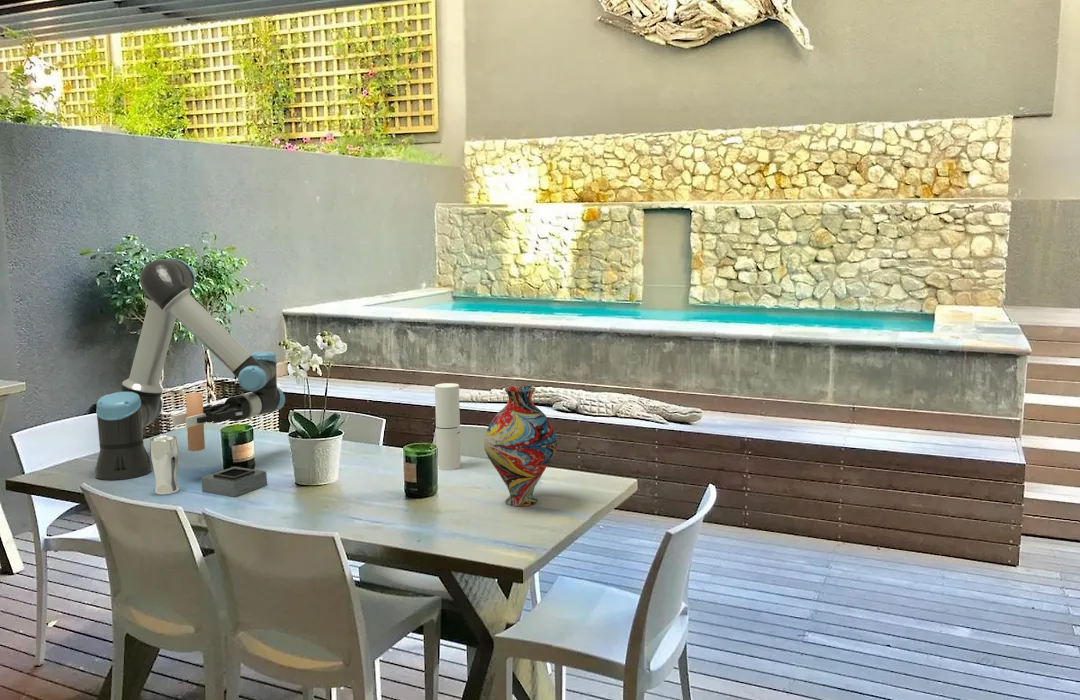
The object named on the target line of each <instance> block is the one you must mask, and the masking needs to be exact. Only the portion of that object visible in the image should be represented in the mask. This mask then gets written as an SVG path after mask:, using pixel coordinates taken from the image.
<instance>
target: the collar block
mask: <svg viewBox="0 0 1080 700" xmlns="http://www.w3.org/2000/svg"><path fill="white" fill-rule="evenodd" d="M267 480H268V478H267V471H265V470H261V469H260V470H259V469H253V468H245V467H239V466H232V467H230V468H226V469H224V470H220V471H218V472H217V471H216V472H213V473H211V474H208V475H205V476H202V477H201V491H202V493H209V494H214V495H219V496H227V497H231V498H232V497H233V498H237V497H239V496H242V495H245V494H247V493H250V492H252V491H255V490H258V489H260V488H261V489H262V488H263V487H266V486H267V485H268V481H267Z"/></svg>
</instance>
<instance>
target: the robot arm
mask: <svg viewBox="0 0 1080 700" xmlns="http://www.w3.org/2000/svg"><path fill="white" fill-rule="evenodd" d="M195 283H196V274H195V272H194V270H193V268H192V267H191V265H189V264H188V263H187V262H186V261H183V260H180V259H177V258H174V257H173V258H165V259H156V260H155V259H154V260H152V261H150V262H147V264H146V265H145V266H144V267H142V270H141V272H140V275H139V284H140V286H141V288H142V291H143V292H144V300H145V301H146V302H147V308H146V311H145V316H144V320H143V323H142V328H141V332H140V334H139V338H138V343H137V347H136V349H135V350H136V351H135V354H134V357H133V362H132V365H131V370H130V374H129V377H128V378H127V379H125V380H123V381H122V384H121V387H120V390H119V391H117V392H113V393H111V394H105V395H102V396H101V397H100V398H99V399H98V400H97V402H96V411H95V412H96V417H97V431H98V432H97V433H98V441H99V442H98V444H99V453H98V457H97V460H96V465H95V467H94V475H95V476H94V477H95V478H96V479H99V480H104V481H105V480H108V481H112V480H113V481H117V480H126V479H127V480H128V479H132V478H133V479H134V478H137V477H141V476H144V475H147V474H149V473H151V472H152V470H153V466H152V462H151V458H150V455H149V454H148V452H147V450H146V447H145V444H144V436H143V435H144V433H143V432H144V431H143V429H144V428H146V427H148V426H150V425H152V424H153V423H154V422H155V421H156V420H157V419H158V417H159V416H160V414H161V413H162V410H163V401H162V394H163V391H164V390H163V389H164V388H162V387H161V385H160V382H161V377H162V373H163V370H164V366H165V362H166V358H167V356H168V355H167V354H168V352H169V346H170V343H171V339H172V335H173V331H174V328H175V323H176V320H178V322H179V323H181V324H182V326H184V328H185V329H186V330H187V331H189V332H190V334H192V335H193V336H194V337H195V338H196V339H197V340H198V342H200V343H201V344H202V345H203V346H204V347H205V348H206V349H207V350H208V351H209V352H210V353H211V354H212V355H213V356H214V357H215V358H217V360H218V361H219V362H220V363H222V364H223V365H224V366H225V368H227V369H228V370H229V371H230V373H232V375H234V376H235V377H236V378H237V380H238V384H239V387H241V388H242V390H245V391H247V392H246V393H241V394H238V395H232V396H229V397H228V398H227V399H226V400H225V402H224V403H218V404H217V405H213V404H211V403H210V404H207V405H205V406H204V405H203V414H199V415H195V416H191V417H187V410H186V412H183V413H179V414H174V415H172V418H171V419H172V426H179V425H183V424H185V428H187V427H192V426H196V425H200V424H204V425H205V424H206V423H208V424H211V423H214V424H217V423H221V422H226V421H232V422H239V421H243V420H245V419H248V420H252V418H253V417H257V416H261V415H266V414H271V413H273V412H277V411H279V410H281V409H282V408H283V407H284V406H285V403H286V396H285V394H284V391H283V390H282V389H281V388H279V387H278V381H277V380H278V376H277V375H278V374H277V364H278V363H277V355H276V353H275V352H274V351H255V352H252V353H250V352H249V351H248V350H247V349H246V348H245V347H244V346H243V345H242V344H241V343H240V342H239V341H238V340H237V339H235V338H234V337H233V336H232V334H231V333H230V332H229V331H227V329H225V328H224V326H223V325H222V324H220V323H219V322H218V321H217V320H216V319H215V318H214V317H213V316H212V315H211V313H209V312H208V311H207V309H205V308H204V307H203V306H202V305H201V304H200V303H199V302H198V301H197V300H196V299H195V298H194V297H193V296H192V295H191V291H192V290H193V289H194V287H195Z"/></svg>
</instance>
